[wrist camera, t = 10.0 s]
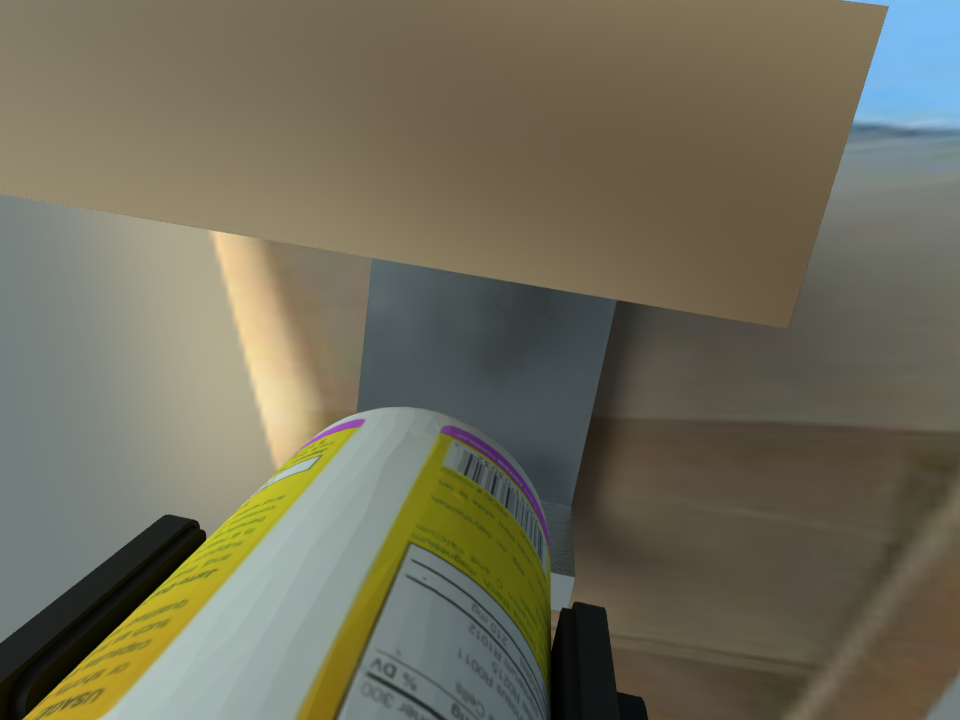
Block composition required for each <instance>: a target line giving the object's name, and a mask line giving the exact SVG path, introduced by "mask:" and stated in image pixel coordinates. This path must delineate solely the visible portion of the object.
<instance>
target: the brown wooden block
mask: <svg viewBox="0 0 960 720" xmlns="http://www.w3.org/2000/svg"><path fill="white" fill-rule="evenodd" d="M888 7H889V6H882V5H874V4H866V3H858V2H850V1H842V0H0V194H4V195H9V196H15V197H21V198H27V199H33V200H39V201H45V202H50V203H56V204H62V205H68V206H74V207H79V208H86V209H91V210H97V211H103V212H108V213H114V214H120V215H126V216H132V217H138V218H143V219H150V220H155V221H161V222H167V223H172V224H178V225H184V226H190V227H196V228H202V229H207V230H213V231H219V232H225V233H231V234H236V235H242V236H248V237H254V238H260V239H266V240H271V241H277V242H283V243H289V244H295V245H300V246H306V247H312V248H318V249H324V250H330V251H335V252H341V253H347V254H353V255H359V256H364V257H370V258H376V259H382V260H388V261H394V262H399V263H405V264H411V265H417V266H423V267H429V268H434V269H440V270H446V271H452V272H458V273H463V274H469V275H475V276H481V277H487V278H493V279H498V280H504V281H510V282H516V283H522V284H527V285H533V286H539V287H545V288H551V289H557V290H562V291H568V292H574V293H580V294H586V295H592V296H597V297H603V298H609V299H615V300H621V301H626V302H632V303H638V304H644V305H650V306H656V307H661V308H667V309H673V310H679V311H685V312H690V313H696V314H702V315H708V316H714V317H720V318H725V319H731V320H737V321H743V322H749V323H755V324H760V325H766V326H772V327H778V328H784V329H788V326H789V323H790V320H791V317H792V314H793V310H794V307H795V304H796V301H797V298H798V294H799V291H800V288H801V285H802V282H803V278H804V275H805V272H806V269H807V266H808V263H809V259H810V256H811V253H812V250H813V247H814V243H815V240H816V237H817V234H818V231H819V227H820V224H821V221H822V218H823V215H824V211H825V208H826V205H827V202H828V199H829V196H830V192H831V189H832V186H833V183H834V180H835V176H836V173H837V170H838V167H839V164H840V160H841V157H842V154H843V151H844V148H845V144H846V141H847V138H848V135H849V132H850V129H851V125H852V122H853V119H854V116H855V113H856V109H857V106H858V103H859V100H860V97H861V93H862V90H863V87H864V84H865V81H866V77H867V74H868V71H869V68H870V65H871V61H872V58H873V55H874V52H875V49H876V46H877V42H878V39H879V36H880V33H881V30H882V26H883V23H884V20H885V17H886V14H887V10H888Z"/></svg>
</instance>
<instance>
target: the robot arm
mask: <svg viewBox="0 0 960 720" xmlns="http://www.w3.org/2000/svg"><path fill="white" fill-rule="evenodd" d="M205 541H206V533H205V531H204V530H201V529H200V525H199V523H198V521H196V520H193V519H188V518H183V517H178V516H174V515H165V516H163V517H161V518H160V519H159V520H157V521H156V522H155V523H153V524H152V525H151V526H150V527H148V528H147V529H146V530H145V531H143V532H142V533H141V534H140V535H138V536H137V537H135V538H134V539H133V540H132V541H130V542H129V543H128V544H127V545H125V546H124V547H123V548H121V549H120V550H119V551H118V552H116V553H115V554H114V555H113V556H112V557H110V558H109V559H108V560H106V561H105V562H104V563H102V564H101V565H100V566H98V567H97V568H96V569H95V570H93V571H92V572H91V573H90V574H88V575H87V576H86V577H84V578H83V579H82V580H81V581H79V582H78V583H77V584H76V585H74V586H73V587H72V588H70V589H69V590H68V591H67V592H65V593H64V594H63V595H61V596H60V597H59V598H58V599H56V600H55V601H54V602H53V603H52V604H50V605H49V606H47V607H46V608H45V609H44V610H42V611H41V612H40V613H39V614H37V615H36V616H35V617H33V618H32V619H31V620H30V621H28V622H27V623H26V624H25V625H23V626H22V627H21V628H19V629H18V630H17V631H16V632H14V633H13V634H12V635H10V636H9V637H8V638H7V639H6V640H4V641H3V642H2V643H0V720H23V719H24V718H25V717H26V716H27V715H28V714H29V713H30V712H31V711H32V710H33V709H34V708H35V707H36V706H37V705H38V704H39V703H40V702H41V701H42V700H43V699H44V698H45V697H46V696H47V695H48V694H49V693H50V692H52V691H53V690H54V689H55V688H56V687H57V686H58V685H59V684H60V683H61V682H62V681H63V680H64V679H65V678H66V677H67V676H68V675H69V674H70V673H71V672H72V671H73V670H74V669H75V668H76V667H77V666H78V665H79V664H80V663H81V662H82V661H83V660H84V659H85V658H86V657H87V656H88V655H89V654H90V653H91V652H92V651H93V650H95V649H96V648H97V647H98V646H99V645H100V644H101V643H102V642H103V641H104V640H105V639H106V638H107V637H108V636H109V635H110V634H111V633H112V632H113V631H114V630H115V629H116V628H117V627H119V626H120V625H121V624H122V623H123V622H124V621H125V620H126V619H127V618H128V617H129V616H130V615H131V614H132V613H133V612H134V611H135V610H136V609H137V608H138V607H139V606H140V605H141V604H142V603H143V602H144V601H145V600H146V599H147V598H148V597H149V596H150V595H151V594H152V593H153V592H154V591H155V590H156V589H158V588H159V587H160V586H161V585H162V584H163V583H164V582H165V581H166V580H167V579H168V578H169V577H170V576H171V575H172V574H173V573H174V572H175V571H176V570H177V569H178V568H179V567H180V566H181V565H182V564H183V563H184V562H185V561H186V560H187V559H188V558H189V557H190V556H191V555H192V554H193V553H194V552H195V551H196V550H197V549H198V548H199V547H200V546H201V545H202V544H203V543H204V542H205ZM551 720H648V716H647V711H646V707H645V703H644V701H643V699H642V698H641V697H637V696H633V695H629V694H624V693H620V692H617V690H616V682H615V675H614V667H613V660H612V652H611V645H610V637H609V630H608V622H607V615H606V610H605V608H603V607H599V606H594V605H589V604H585V603H580V602H574V604H573V606H572V609H568V608H564V607H563V608H562V609H561V612H560V616H559V621H558V625H557V629H556V634H555V638H554V642H553V647H552V651H551Z"/></svg>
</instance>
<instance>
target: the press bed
mask: <svg viewBox="0 0 960 720" xmlns="http://www.w3.org/2000/svg"><path fill="white" fill-rule="evenodd" d="M616 303H617V300H615V299H609V298H603V297H597V296H592V295H586V294H580V293H574V292H568V291H562V290H557V289H551V288H545V287H539V286H533V285H527V284H522V283H516V282H510V281H504V280H498V279H493V278H487V277H481V276H475V275H469V274H463V273H458V272H452V271H446V270H440V269H434V268H429V267H423V266H417V265H411V264H405V263H399V262H394V261H388V260H382V259H376V258H372V265H371V275H370V285H369V295H368V305H367V315H366V325H365V335H364V345H363V355H362V366H361V376H360V386H359V396H358V406H357V413H361V412H365V411H370V410H374V409H379V408H387V407H412V408H422V409H428V410H432V411H437V412H441V413H444V414H447V415H450V416H453V417H455V418H458V419H460V420H463V421H465V422H467V423H469V424H471V425H473V426H475V427H476V428H478V429H480V430H481V431H483V432H484V433H486V434H487V435H489V436H490V437H492V438H493V439H494V440H495V441H497V442H498V443H499V444H500V445H501V446H502V447H503V448H504V449H505V450H507V451H508V452H509V453H510V455H511V456H512V457H513V458H514V459H515V460H516V461H517V462H518V464H519V465H520V466H521V467H522V469H523V470H524V472H525V473H526V475H527V476H528V478H529V479H530V481H531V483H532V484H533V486H534V488H535V491H536V493H537V495H538V497H539V500H540V502H541V505H542V508H543V511H544V515H545V519H546V524H547V530H548V538H549V546H550V571H551V609H553V610H557V611H561V609H562V608H563V607H564V608H568V606H569V602H570V598H571V593H572V589H573V585H574V581H575V565H574V548H573V531H572V515H571V504H572V500H573V495H574V491H575V486H576V482H577V477H578V473H579V468H580V464H581V459H582V455H583V450H584V446H585V442H586V437H587V433H588V428H589V424H590V419H591V415H592V410H593V406H594V401H595V397H596V392H597V388H598V383H599V379H600V375H601V370H602V366H603V361H604V357H605V352H606V348H607V343H608V339H609V334H610V330H611V325H612V321H613V317H614V312H615V308H616Z"/></svg>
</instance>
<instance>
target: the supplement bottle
mask: <svg viewBox="0 0 960 720" xmlns="http://www.w3.org/2000/svg"><path fill="white" fill-rule="evenodd" d="M23 720H551V571H550V546H549V538H548V530H547V524H546V519H545V515H544V511H543V508H542V505H541V502H540V500H539V497H538V495H537V493H536V491H535V488H534V486H533V484H532V483H531V481H530V479H529V478H528V476H527V475H526V473H525V472H524V470H523V469H522V467H521V466H520V465H519V464H518V462H517V461H516V460H515V459H514V458H513V457H512V456H511V455H510V453H509V452H508V451H507V450H505V449H504V448H503V447H502V446H501V445H500V444H499V443H498V442H497V441H495V440H494V439H493V438H492V437H490V436H489V435H487V434H486V433H484V432H483V431H481V430H480V429H478V428H476V427H475V426H473V425H471V424H469V423H467V422H465V421H463V420H460V419H458V418H455V417H453V416H450V415H447V414H444V413H441V412H437V411H432V410H428V409H422V408H412V407H387V408H379V409H374V410H370V411H365V412H361V413H357V414H355V415H352V416H349V417H347V418H344V419H342V420H340V421H338V422H336V423H334V424H332V425H331V426H329V427H327V428H326V429H324V430H323V431H322V432H320V433H319V434H318V435H316V436H315V437H314V438H312V439H311V440H310V441H309V442H308V443H307V444H306V445H305V446H303V447H302V448H301V449H300V450H299V451H298V452H297V453H296V454H295V455H294V456H293V457H292V458H291V459H290V460H288V461H287V462H286V463H285V464H284V465H283V466H282V467H281V468H280V469H279V470H278V471H277V472H276V473H275V474H274V475H273V476H272V477H271V478H270V479H269V480H268V481H267V482H266V483H265V484H264V485H263V486H262V487H261V488H260V489H259V490H258V491H256V492H255V494H253V495H252V496H251V497H250V498H249V499H248V500H247V501H246V502H245V503H244V504H243V505H242V506H241V507H240V508H239V509H238V510H237V511H236V512H235V513H234V514H233V515H232V516H231V517H230V518H229V519H228V520H226V522H225V523H224V524H223V525H222V526H221V527H220V528H219V529H218V530H217V531H216V532H215V533H213V534H212V535H211V536H210V537H209V538H208V539H207V540H206V541H205V542H204V543H203V544H202V545H201V546H200V547H199V548H198V549H197V550H196V551H195V552H194V553H193V554H192V555H191V556H190V557H189V558H188V559H187V560H186V561H185V562H184V563H183V564H182V565H181V566H180V567H179V568H178V569H177V570H176V571H175V572H174V573H173V574H172V575H171V576H170V577H169V578H168V579H167V580H166V581H165V582H164V583H163V584H162V585H161V586H160V587H159V588H158V589H156V590H155V591H154V592H153V593H152V594H151V595H150V596H149V597H148V598H147V599H146V600H145V601H144V602H143V603H142V604H141V605H140V606H139V607H138V608H137V609H136V610H135V611H134V612H133V613H132V614H131V615H130V616H129V617H128V618H127V619H126V620H125V621H124V622H123V623H122V624H121V625H120V626H119V627H117V628H116V629H115V630H114V631H113V632H112V633H111V634H110V635H109V636H108V637H107V638H106V639H105V640H104V641H103V642H102V643H101V644H100V645H99V646H98V647H97V648H96V649H95V650H93V651H92V652H91V653H90V654H89V655H88V656H87V657H86V658H85V659H84V660H83V661H82V662H81V663H80V664H79V665H78V666H77V667H76V668H75V669H74V670H73V671H72V672H71V673H70V674H69V675H68V676H67V677H66V678H65V679H64V680H63V681H62V682H61V683H60V684H59V685H58V686H57V687H56V688H55V689H54V690H53V691H52V692H50V693H49V694H48V695H47V696H46V697H45V698H44V699H43V700H42V701H41V702H40V703H39V704H38V705H37V706H36V707H35V708H34V709H33V710H32V711H31V712H30V713H29V714H28V715H27V716H26V717H25V718H24V719H23Z"/></svg>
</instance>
